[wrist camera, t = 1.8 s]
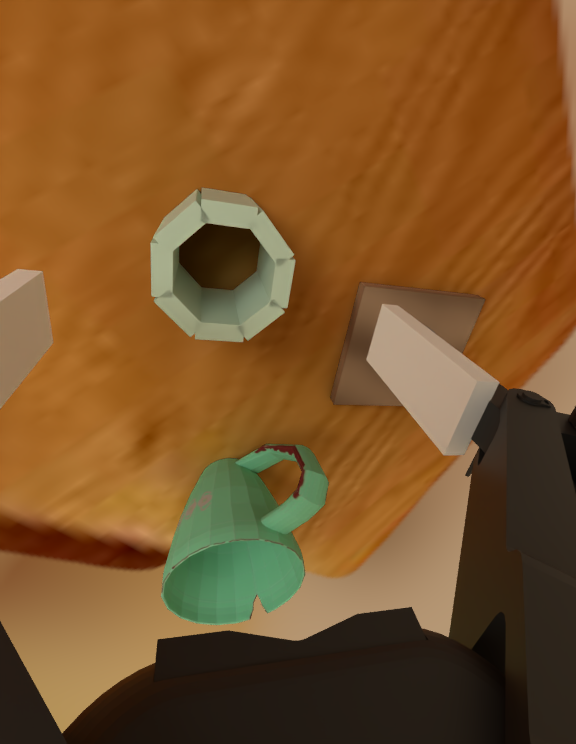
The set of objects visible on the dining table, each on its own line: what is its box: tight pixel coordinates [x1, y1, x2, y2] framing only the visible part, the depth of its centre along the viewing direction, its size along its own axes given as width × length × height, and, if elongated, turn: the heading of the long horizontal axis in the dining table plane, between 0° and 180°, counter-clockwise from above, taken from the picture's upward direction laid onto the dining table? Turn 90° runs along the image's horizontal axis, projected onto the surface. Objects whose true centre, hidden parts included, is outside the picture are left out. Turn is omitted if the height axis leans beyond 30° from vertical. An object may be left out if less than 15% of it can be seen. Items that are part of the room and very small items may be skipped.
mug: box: [161, 444, 329, 625], centre depth 29 cm, size 15×10×10 cm
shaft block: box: [330, 282, 485, 406], centre depth 27 cm, size 10×10×9 cm
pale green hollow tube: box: [151, 188, 295, 342], centre depth 21 cm, size 7×7×6 cm
